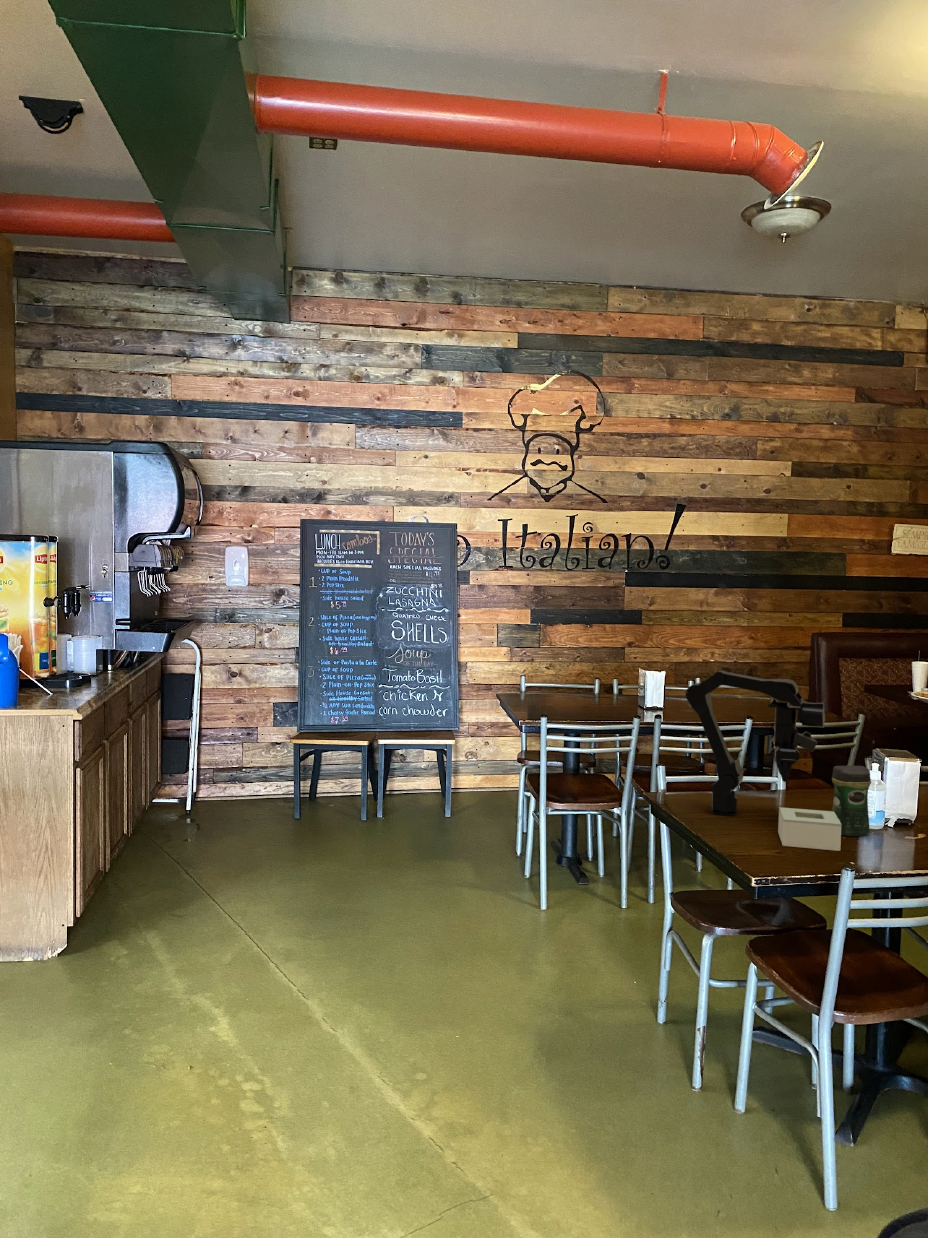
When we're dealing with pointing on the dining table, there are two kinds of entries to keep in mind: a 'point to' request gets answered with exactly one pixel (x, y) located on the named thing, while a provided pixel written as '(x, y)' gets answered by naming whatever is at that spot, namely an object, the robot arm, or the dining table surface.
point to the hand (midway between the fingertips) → (783, 778)
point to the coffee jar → (851, 799)
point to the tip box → (809, 829)
